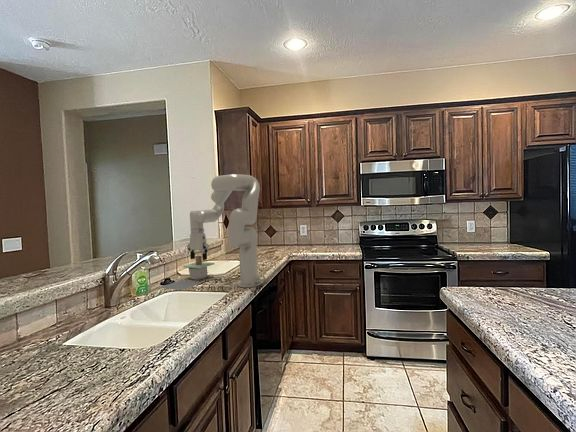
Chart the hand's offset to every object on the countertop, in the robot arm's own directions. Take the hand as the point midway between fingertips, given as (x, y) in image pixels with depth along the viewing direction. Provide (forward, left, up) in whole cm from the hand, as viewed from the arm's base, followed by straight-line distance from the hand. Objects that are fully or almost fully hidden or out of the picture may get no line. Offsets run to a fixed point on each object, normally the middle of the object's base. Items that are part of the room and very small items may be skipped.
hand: (198, 259), depth 201 cm
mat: (-2, +17, -12) cm, 21 cm away
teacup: (0, 0, -12) cm, 12 cm away
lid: (0, 0, -4) cm, 4 cm away
